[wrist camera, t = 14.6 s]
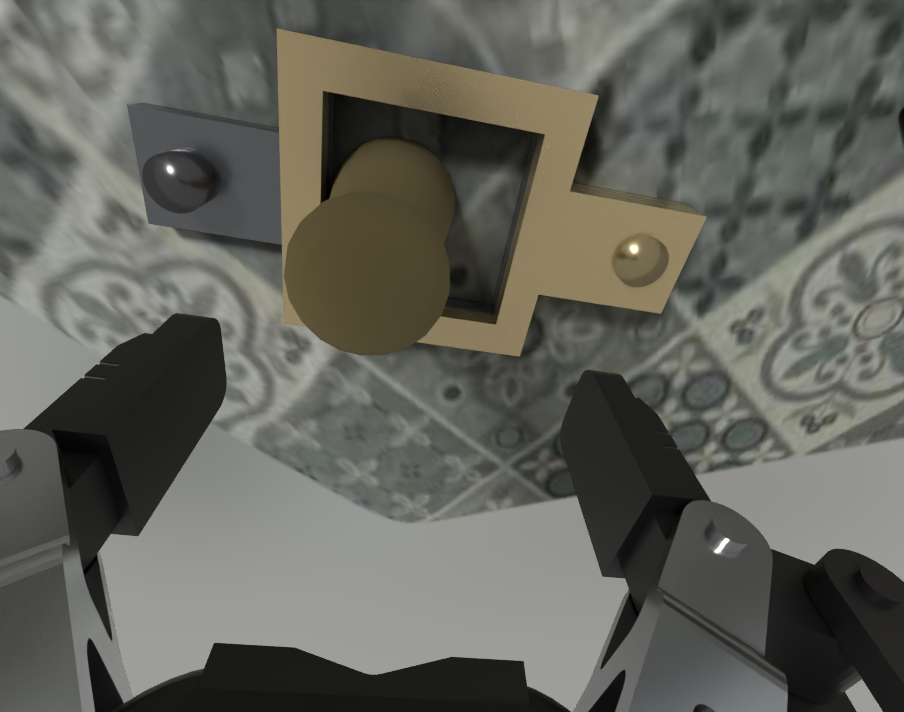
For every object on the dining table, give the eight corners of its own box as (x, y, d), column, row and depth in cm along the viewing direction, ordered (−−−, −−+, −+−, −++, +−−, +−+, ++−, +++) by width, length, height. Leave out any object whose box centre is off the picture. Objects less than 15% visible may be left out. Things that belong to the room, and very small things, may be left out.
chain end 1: (126, -3, 18) (77, -14, 16) (582, 92, 20) (601, 96, 18) (173, 284, 24) (144, 308, 22) (513, 334, 27) (520, 360, 24)
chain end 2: (294, 32, 19) (273, 27, 16) (718, 121, 21) (754, 128, 18) (296, 302, 25) (281, 327, 23) (619, 349, 27) (635, 376, 25)
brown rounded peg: (465, 147, 21) (484, 211, 12) (446, 269, 24) (449, 394, 15) (333, 126, 21) (244, 174, 11) (331, 253, 24) (261, 373, 14)
